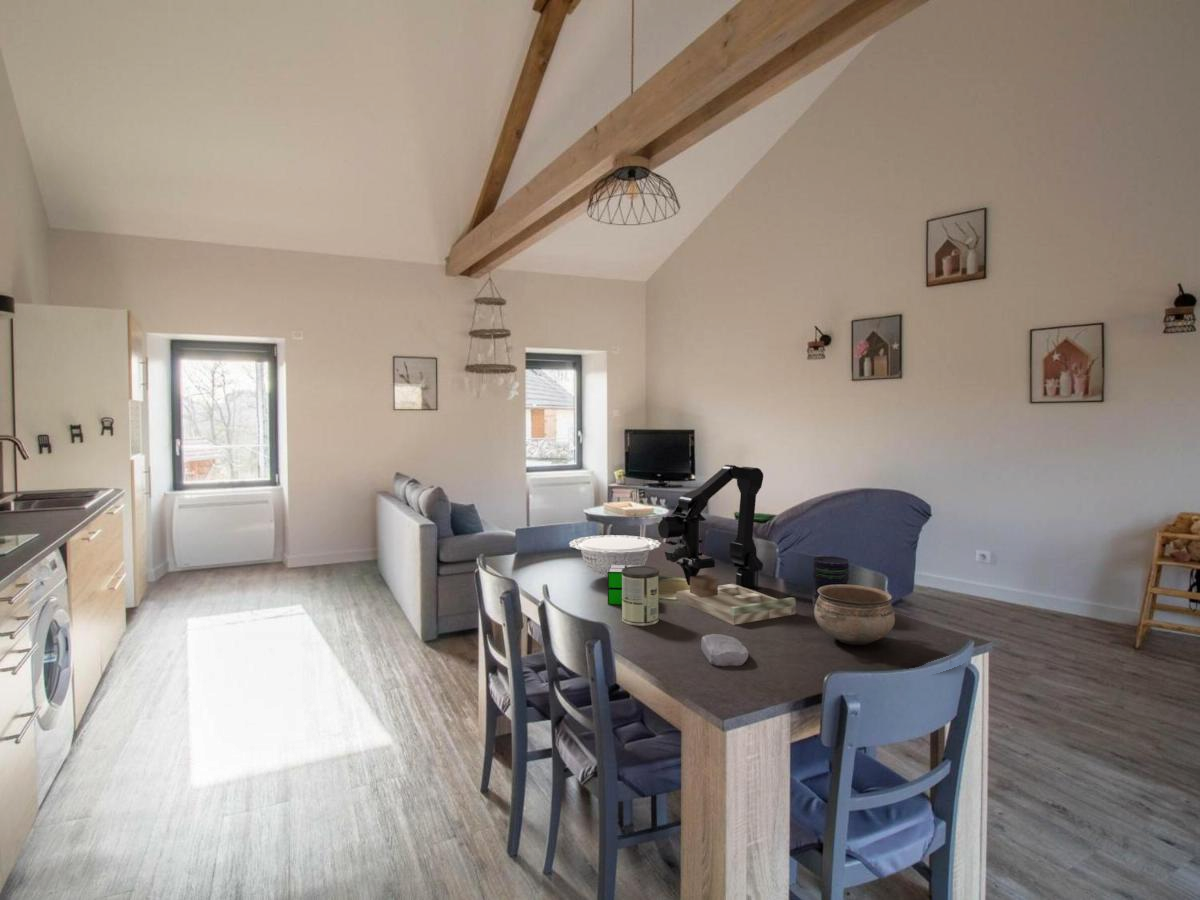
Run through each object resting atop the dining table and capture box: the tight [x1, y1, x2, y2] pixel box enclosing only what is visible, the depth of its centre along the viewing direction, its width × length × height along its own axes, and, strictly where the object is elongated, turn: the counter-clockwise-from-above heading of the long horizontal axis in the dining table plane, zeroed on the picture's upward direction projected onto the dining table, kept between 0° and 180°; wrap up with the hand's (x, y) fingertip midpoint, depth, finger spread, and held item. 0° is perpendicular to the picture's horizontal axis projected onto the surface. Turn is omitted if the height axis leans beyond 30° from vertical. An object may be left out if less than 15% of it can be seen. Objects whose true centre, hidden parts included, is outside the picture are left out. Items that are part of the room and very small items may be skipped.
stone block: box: [700, 633, 749, 667], centre depth 157 cm, size 12×5×10 cm
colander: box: [568, 534, 662, 577], centre depth 232 cm, size 32×32×13 cm
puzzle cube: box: [607, 564, 638, 606], centre depth 205 cm, size 10×10×10 cm
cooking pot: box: [813, 584, 896, 646], centre depth 168 cm, size 25×19×12 cm
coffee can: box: [621, 565, 660, 627], centre depth 185 cm, size 10×10×14 cm
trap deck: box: [675, 583, 797, 626], centre depth 199 cm, size 22×28×4 cm
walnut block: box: [689, 574, 719, 597], centre depth 204 cm, size 6×6×5 cm
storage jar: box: [812, 555, 850, 612], centre depth 195 cm, size 10×10×15 cm
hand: (689, 585), depth 210 cm, fingers closed
